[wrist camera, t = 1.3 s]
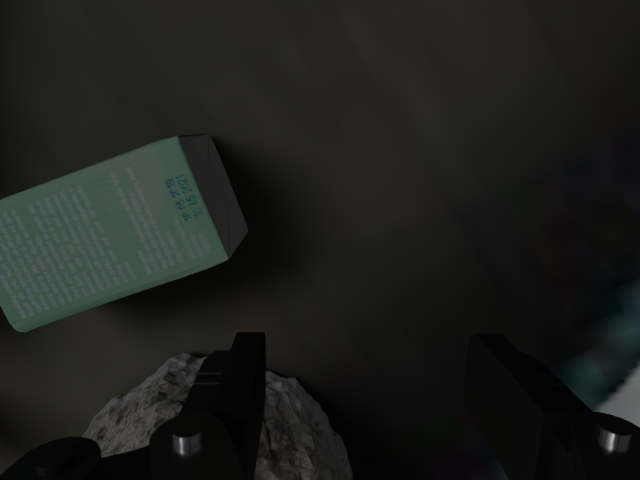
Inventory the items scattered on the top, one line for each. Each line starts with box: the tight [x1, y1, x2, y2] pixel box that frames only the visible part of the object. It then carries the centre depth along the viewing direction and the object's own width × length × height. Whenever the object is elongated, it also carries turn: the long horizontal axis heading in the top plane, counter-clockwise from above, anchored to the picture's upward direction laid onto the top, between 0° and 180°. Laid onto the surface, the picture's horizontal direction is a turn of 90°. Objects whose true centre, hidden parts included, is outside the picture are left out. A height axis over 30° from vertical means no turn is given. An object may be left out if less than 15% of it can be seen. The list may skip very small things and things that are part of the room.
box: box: [0, 134, 248, 332], centre depth 27 cm, size 7×14×8 cm, turn 110°
